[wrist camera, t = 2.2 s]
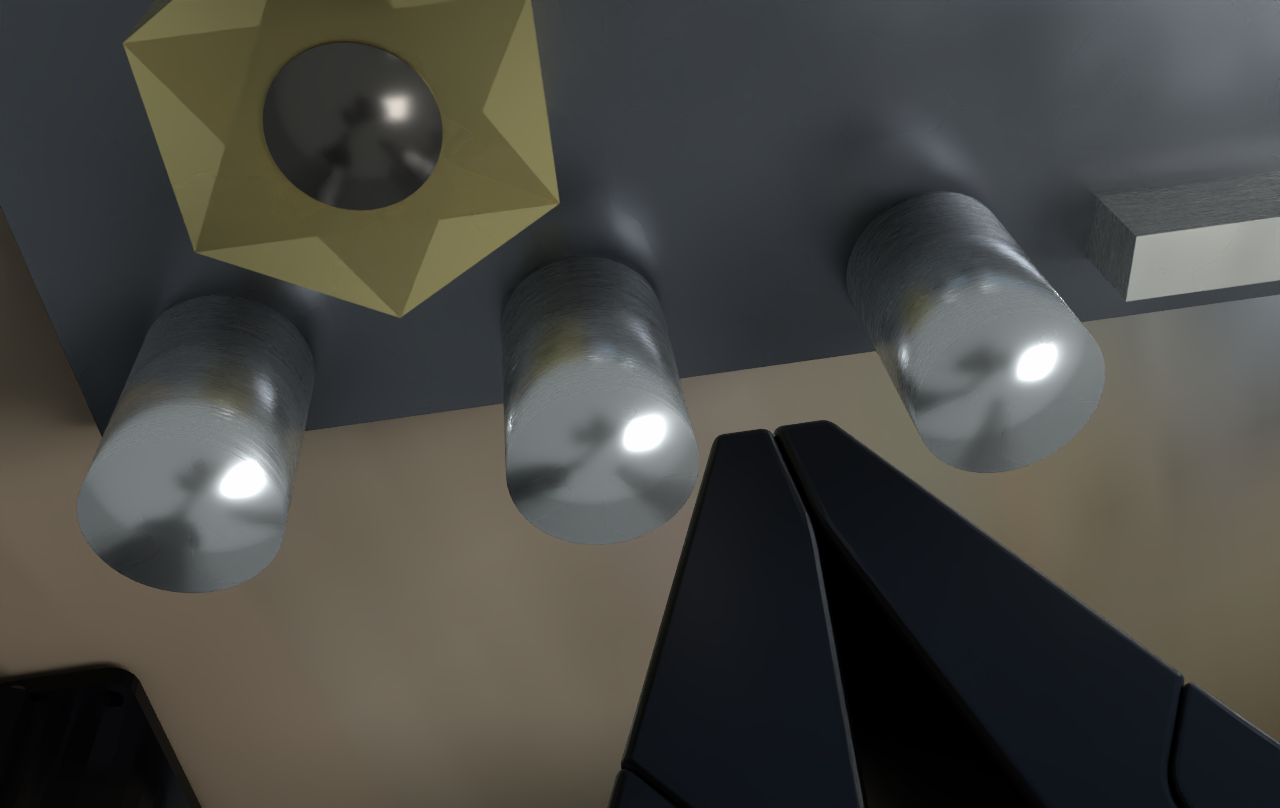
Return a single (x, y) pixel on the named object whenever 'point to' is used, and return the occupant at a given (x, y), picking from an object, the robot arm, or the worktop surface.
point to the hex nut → (349, 136)
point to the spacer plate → (664, 249)
